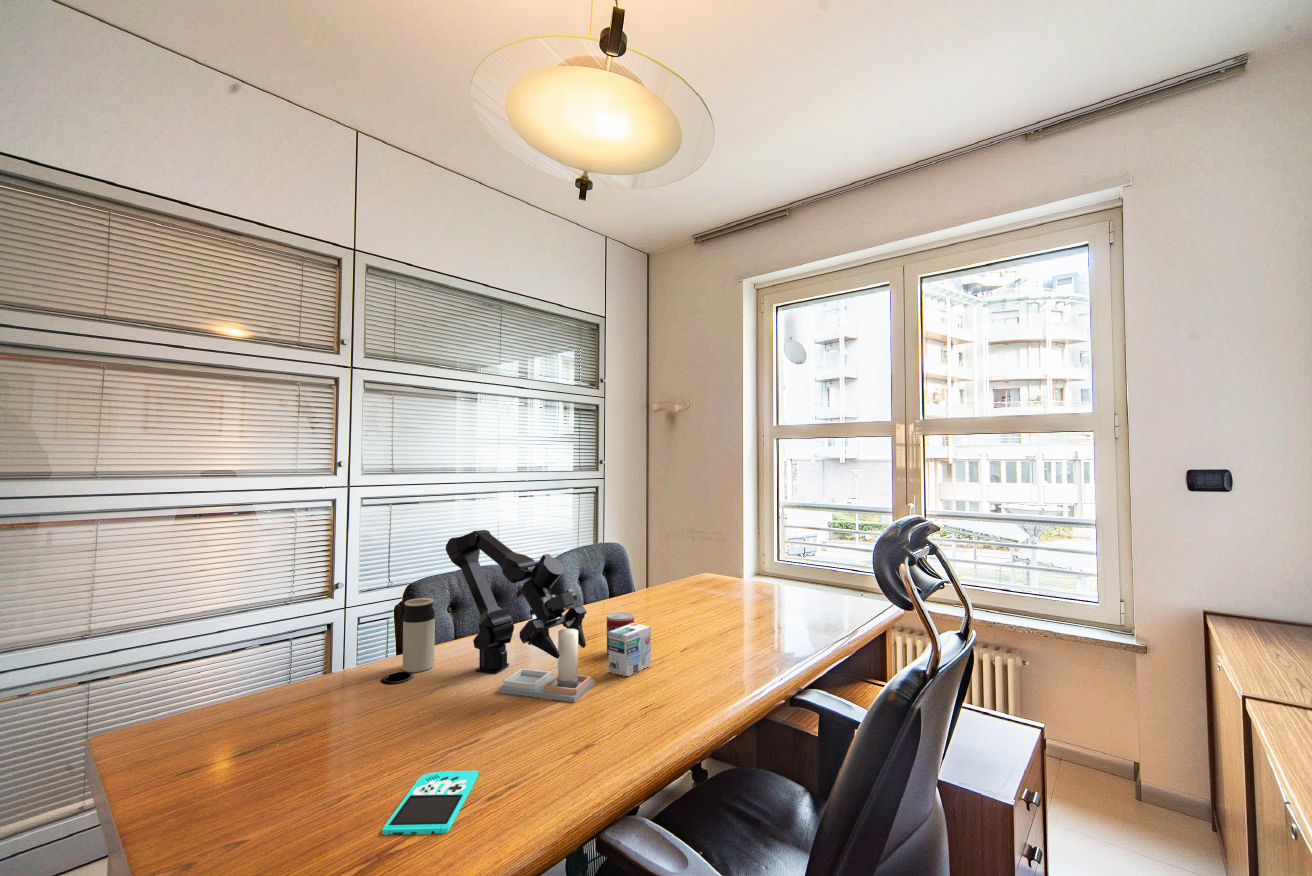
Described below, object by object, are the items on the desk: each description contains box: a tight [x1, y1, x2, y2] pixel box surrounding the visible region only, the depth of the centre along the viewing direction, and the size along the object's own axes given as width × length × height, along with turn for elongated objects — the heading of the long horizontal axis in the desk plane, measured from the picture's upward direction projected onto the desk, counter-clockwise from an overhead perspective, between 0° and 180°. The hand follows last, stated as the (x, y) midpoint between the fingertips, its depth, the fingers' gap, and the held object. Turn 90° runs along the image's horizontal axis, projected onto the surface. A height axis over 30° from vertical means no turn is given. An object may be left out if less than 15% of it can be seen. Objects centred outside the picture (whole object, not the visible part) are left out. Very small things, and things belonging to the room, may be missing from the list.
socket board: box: [498, 668, 595, 703], centre depth 137 cm, size 20×11×2 cm, turn 72°
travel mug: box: [402, 597, 436, 673], centre depth 152 cm, size 8×8×18 cm
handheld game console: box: [381, 770, 480, 836], centre depth 91 cm, size 10×16×1 cm, turn 1°
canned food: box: [606, 611, 635, 655], centre depth 162 cm, size 8×8×11 cm
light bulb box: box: [608, 622, 652, 677], centre depth 150 cm, size 11×7×11 cm, turn 143°
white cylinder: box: [557, 628, 579, 688], centre depth 135 cm, size 5×5×13 cm
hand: (571, 651), depth 135 cm, fingers open, 9 cm apart
